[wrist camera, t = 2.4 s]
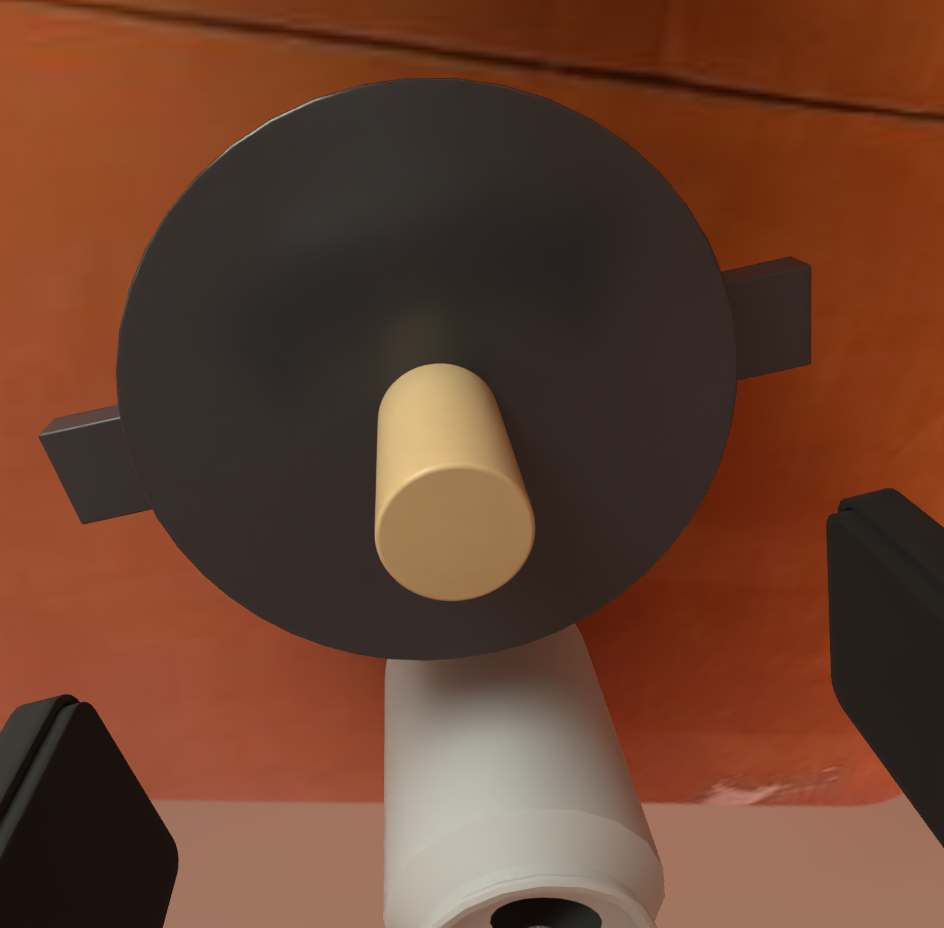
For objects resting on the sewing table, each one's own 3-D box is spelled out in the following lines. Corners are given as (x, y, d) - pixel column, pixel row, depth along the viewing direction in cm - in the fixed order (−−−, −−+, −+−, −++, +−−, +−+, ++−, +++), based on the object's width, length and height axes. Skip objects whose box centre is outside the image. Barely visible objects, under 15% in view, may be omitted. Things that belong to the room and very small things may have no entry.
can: (611, 594, 29) (739, 893, 19) (540, 740, 32) (616, 1071, 22) (417, 550, 28) (436, 851, 17) (362, 708, 31) (348, 1050, 20)
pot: (55, 172, 21) (-96, 216, 15) (692, 31, 21) (831, 12, 15) (210, 544, 27) (151, 700, 20) (716, 433, 27) (824, 552, 20)
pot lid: (21, 160, 15) (-179, 205, 10) (702, 9, 15) (874, -27, 10) (246, 680, 21) (198, 884, 16) (732, 573, 21) (848, 742, 16)
